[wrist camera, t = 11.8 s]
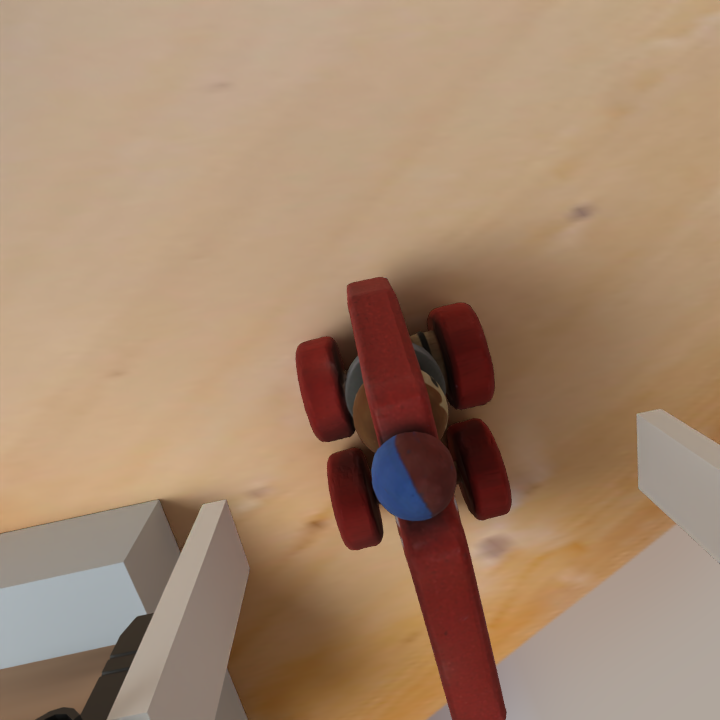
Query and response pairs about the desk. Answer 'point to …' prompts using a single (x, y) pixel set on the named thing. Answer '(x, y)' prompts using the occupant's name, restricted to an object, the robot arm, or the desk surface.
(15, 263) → the desk surface
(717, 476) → the robot arm
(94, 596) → the plinth
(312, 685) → the desk surface
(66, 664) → the walnut block
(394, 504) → the toy fire truck
